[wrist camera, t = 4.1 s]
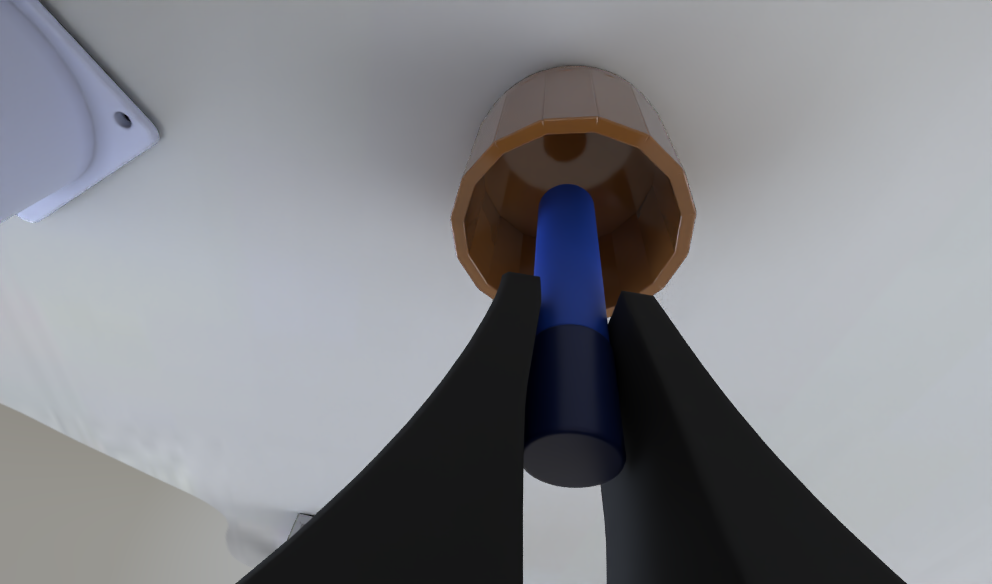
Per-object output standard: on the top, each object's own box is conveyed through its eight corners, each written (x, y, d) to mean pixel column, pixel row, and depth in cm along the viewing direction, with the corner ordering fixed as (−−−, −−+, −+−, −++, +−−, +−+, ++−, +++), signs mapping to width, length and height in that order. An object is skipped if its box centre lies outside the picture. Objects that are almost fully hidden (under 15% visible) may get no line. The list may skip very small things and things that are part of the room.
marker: (524, 207, 13) (496, 457, 7) (568, 169, 12) (575, 416, 6) (563, 243, 14) (567, 500, 8) (608, 208, 13) (649, 467, 7)
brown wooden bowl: (440, 120, 15) (406, 182, 11) (629, 23, 12) (654, 66, 9) (523, 263, 18) (514, 345, 14) (685, 206, 15) (718, 286, 12)
